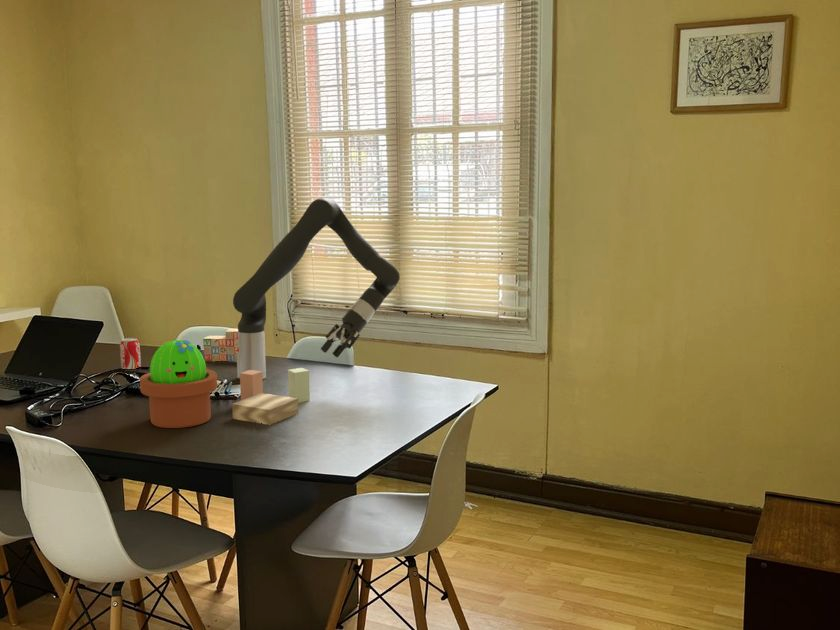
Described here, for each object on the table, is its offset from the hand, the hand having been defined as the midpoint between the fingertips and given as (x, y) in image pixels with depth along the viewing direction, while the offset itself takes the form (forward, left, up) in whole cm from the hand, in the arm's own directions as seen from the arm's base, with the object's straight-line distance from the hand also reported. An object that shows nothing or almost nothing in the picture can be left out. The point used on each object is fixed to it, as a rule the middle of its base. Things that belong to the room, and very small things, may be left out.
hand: (328, 353), depth 276 cm
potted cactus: (-24, -44, -14) cm, 52 cm away
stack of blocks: (-63, +27, -14) cm, 70 cm away
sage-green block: (-5, -10, -14) cm, 18 cm away
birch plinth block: (-4, -29, -15) cm, 32 cm away
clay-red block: (-17, -19, -14) cm, 29 cm away
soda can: (-85, -4, -14) cm, 87 cm away
